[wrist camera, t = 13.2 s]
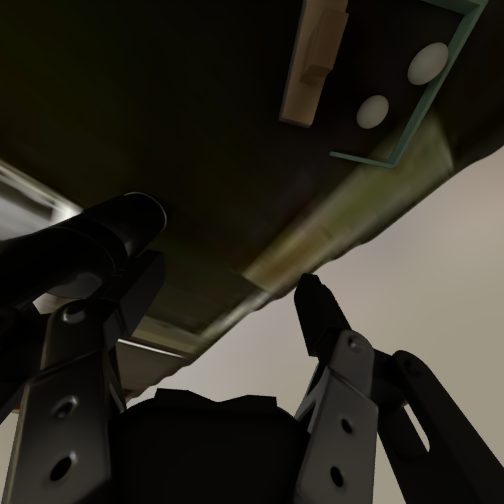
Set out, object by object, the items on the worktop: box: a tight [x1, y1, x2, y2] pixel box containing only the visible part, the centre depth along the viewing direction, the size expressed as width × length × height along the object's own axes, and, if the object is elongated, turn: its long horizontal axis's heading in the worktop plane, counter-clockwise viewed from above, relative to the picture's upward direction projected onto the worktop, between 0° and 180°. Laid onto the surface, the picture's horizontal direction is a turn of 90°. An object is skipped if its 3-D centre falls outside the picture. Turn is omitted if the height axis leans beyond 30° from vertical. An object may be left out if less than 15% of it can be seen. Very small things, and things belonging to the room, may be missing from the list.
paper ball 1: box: [357, 95, 388, 128], centre depth 27 cm, size 4×4×4 cm
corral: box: [330, 0, 488, 169], centre depth 27 cm, size 12×19×2 cm, turn 170°
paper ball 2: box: [408, 43, 448, 85], centre depth 24 cm, size 4×4×4 cm
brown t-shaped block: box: [278, 0, 349, 128], centre depth 22 cm, size 5×13×10 cm, turn 170°
